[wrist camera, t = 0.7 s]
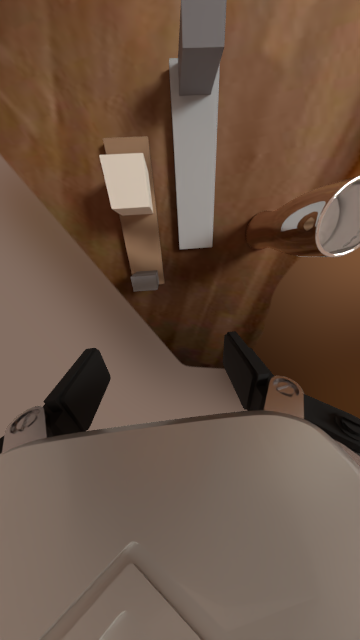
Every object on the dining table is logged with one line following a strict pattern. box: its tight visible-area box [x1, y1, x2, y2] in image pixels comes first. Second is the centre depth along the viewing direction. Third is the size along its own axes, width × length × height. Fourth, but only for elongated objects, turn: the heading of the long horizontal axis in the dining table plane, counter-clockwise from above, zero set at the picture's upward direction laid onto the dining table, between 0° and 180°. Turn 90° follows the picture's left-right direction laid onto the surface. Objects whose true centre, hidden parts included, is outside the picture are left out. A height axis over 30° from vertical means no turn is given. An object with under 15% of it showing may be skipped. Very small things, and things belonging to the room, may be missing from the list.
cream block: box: [99, 153, 153, 216], centre depth 20 cm, size 5×5×5 cm
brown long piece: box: [103, 136, 164, 292], centre depth 22 cm, size 20×6×6 cm, turn 4°
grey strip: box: [169, 0, 226, 249], centre depth 20 cm, size 20×6×6 cm, turn 4°
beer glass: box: [246, 175, 360, 257], centre depth 20 cm, size 7×7×15 cm
